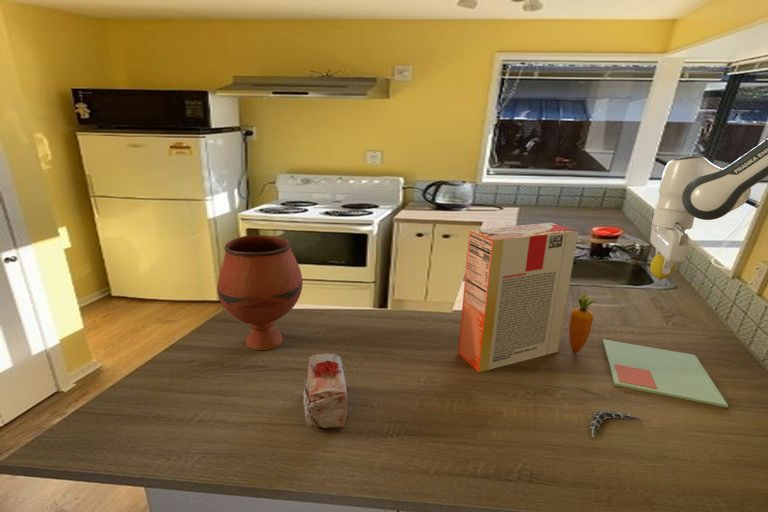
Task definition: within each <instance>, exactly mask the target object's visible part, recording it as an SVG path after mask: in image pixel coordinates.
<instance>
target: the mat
mask: <svg viewBox="0 0 768 512" xmlns="http://www.w3.org/2000/svg"><path fill="white" fill-rule="evenodd" d="M601 342H602V345H603V349H604V352H605V356H606V360H607V364H608V367H609V370H610V375H611V378H612V381H613V384H614V386H616V387H622V388H627V389H631V390H634V391H635V390H636V391H641V392H646V393H652V394H655V395H661V396H667V397H670V398H675V399H682V400H686V401H691V402H695V403H701V404H705V405H711V406H716V407H721V408H725V409H728V407H729V404H728V403H727V401H726V400H725V398H724V396H723V395H722V394H721V392H720V391H719V389H718V388H717V385H716V384H715V383H714V381H713V380H712V379H711V377H710V376H709V374H708V372H707V371H706V369H705V368H704V366H703V365H702V363H701V362H700V360H699V358H698V357H697V356H696V354H693V353H691V354H690V353H686V352H680V351H674V350H668V349H661V348H656V347H652V346H644V345H638V344H633V343H627V342H623V341H622V342H621V341H615V340H611V339H610V340H609V339H604V338H603V339H602V340H601Z"/></svg>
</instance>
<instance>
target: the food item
mask: <svg viewBox="0 0 768 512" xmlns="http://www.w3.org/2000/svg"><path fill="white" fill-rule="evenodd" d="M307 366H308V367H307V378H304V379H303V380H304V381H303V383H304V384H303V392H302V395H303V409H304V416H305V421H306V422H305V423H306V425H307V426H308V428H309V429H310V428H322V429H328V428H338V429H339V428H344V427H345V425H346V420H347V413H348V389H347V381H346V377H345V372H344V364H343V360H342V356H341V355H338V354H336V353H326V352H324V353H318V354H317V353H316V354H312V355H310V356H309V358H308V365H307Z"/></svg>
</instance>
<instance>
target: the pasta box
mask: <svg viewBox="0 0 768 512" xmlns="http://www.w3.org/2000/svg"><path fill="white" fill-rule="evenodd" d="M578 236H579V230H577V229H574V228H570V227H567V226H564V225H560V224H557V223H553V222H543V223H531V224H521V225H511V226H502V227H492V228H491V227H490V228H480V229H470V230H469V231H468V240H467V241H468V243H467V252H466V263H465V275H464V285H463V287H464V288H463V295H462V296H463V298H462V307H461V320H460V329H459V340H458V353H457V354H458V356H460V358H462V360H464V361H465V362H466V363H468V365H470V366H471V367H472V368H473V369H474V370H475V371H476V372H478V373H482V372H486V371H489V370H493V369H497V368H500V367H506V366H508V365H509V366H510V365H512V364H516V363H521V362H524V361H528V360H532V359H536V358H540V357H544V356H548V355H551V354H555V353H558V351H559V347H560V340H561V334H562V329H563V323H564V318H565V317H564V316H565V312H566V311H565V310H566V305H567V300H568V294H569V288H570V282H571V277H572V271H573V265H574V260H575V254H576V247H577V243H578Z"/></svg>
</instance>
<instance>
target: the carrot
mask: <svg viewBox="0 0 768 512" xmlns="http://www.w3.org/2000/svg"><path fill="white" fill-rule="evenodd" d="M589 300H590V298H589V297H587V294H585V293H584V294H582V297H579V298H578V304H579V307H575V308H573V309H572V310H571V312H570V317H569V318H570V319H569V327H568V329H569V331H568V333H569V334H568V336H569V344H570V348H571V351H572V352H573V353H574V354H578V353H579V352H580V351H581V350H582V349H583V347H584V346H585V345H586V342H587V341H588V339H589V336H590V333H591V330H592V326H593V322H594V313H593V311H591V310H589V308H590V305H592V304H594V303H596V302H597V301H596V299H593V300H590V301H589Z"/></svg>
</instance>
